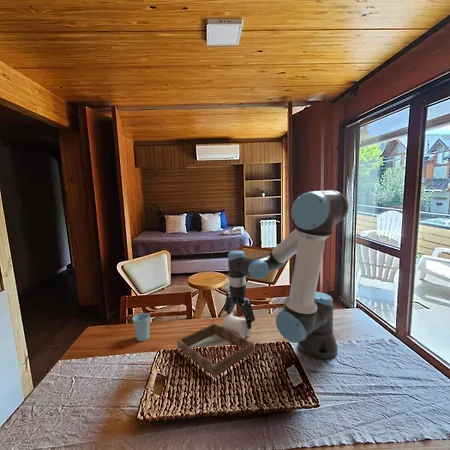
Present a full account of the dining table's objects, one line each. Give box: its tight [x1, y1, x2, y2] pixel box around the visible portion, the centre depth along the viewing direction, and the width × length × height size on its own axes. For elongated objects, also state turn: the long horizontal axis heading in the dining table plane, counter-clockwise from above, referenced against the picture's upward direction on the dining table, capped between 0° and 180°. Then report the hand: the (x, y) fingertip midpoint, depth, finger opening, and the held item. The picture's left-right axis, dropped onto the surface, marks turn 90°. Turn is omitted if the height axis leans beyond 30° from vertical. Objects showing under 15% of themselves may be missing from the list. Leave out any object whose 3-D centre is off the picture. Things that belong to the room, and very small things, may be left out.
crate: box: [176, 322, 255, 377], centre depth 108 cm, size 24×20×6 cm
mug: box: [221, 315, 247, 339], centre depth 124 cm, size 12×10×8 cm
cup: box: [131, 312, 151, 342], centre depth 123 cm, size 8×8×10 cm
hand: (239, 330), depth 124 cm, fingers closed on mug, 10 cm apart
